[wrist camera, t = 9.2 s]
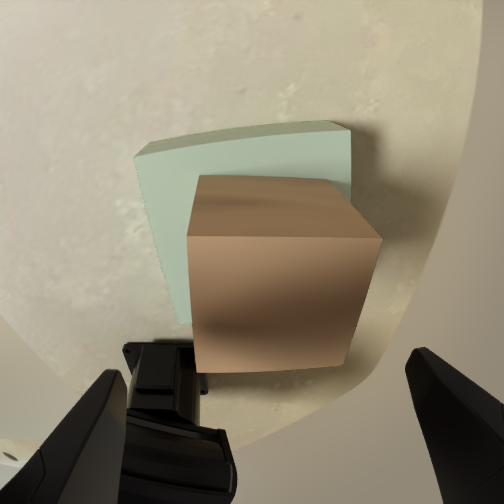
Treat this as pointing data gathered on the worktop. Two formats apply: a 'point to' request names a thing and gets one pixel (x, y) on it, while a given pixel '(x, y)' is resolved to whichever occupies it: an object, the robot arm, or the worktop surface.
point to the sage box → (228, 163)
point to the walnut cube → (275, 273)
